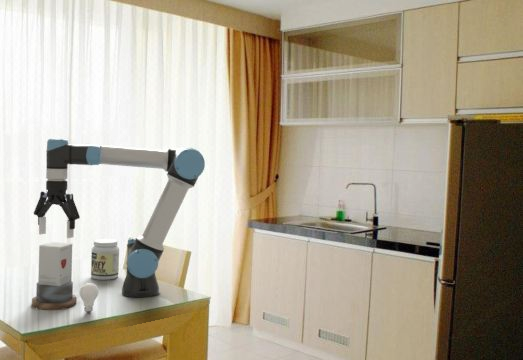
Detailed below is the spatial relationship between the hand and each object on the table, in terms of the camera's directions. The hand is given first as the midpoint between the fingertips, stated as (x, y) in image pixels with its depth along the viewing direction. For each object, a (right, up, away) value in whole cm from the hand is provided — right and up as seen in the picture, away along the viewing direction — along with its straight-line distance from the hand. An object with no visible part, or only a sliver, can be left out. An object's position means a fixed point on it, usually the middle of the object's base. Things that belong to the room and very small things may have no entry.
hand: (56, 235), depth 217 cm
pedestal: (-1, -26, +2) cm, 26 cm away
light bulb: (+14, -28, -7) cm, 32 cm away
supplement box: (-1, -18, +1) cm, 18 cm away
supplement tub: (+6, -24, +45) cm, 52 cm away
